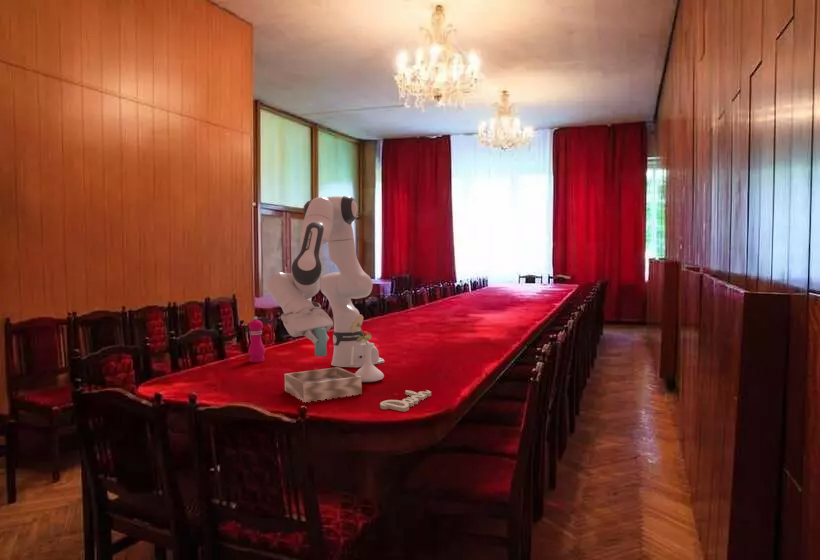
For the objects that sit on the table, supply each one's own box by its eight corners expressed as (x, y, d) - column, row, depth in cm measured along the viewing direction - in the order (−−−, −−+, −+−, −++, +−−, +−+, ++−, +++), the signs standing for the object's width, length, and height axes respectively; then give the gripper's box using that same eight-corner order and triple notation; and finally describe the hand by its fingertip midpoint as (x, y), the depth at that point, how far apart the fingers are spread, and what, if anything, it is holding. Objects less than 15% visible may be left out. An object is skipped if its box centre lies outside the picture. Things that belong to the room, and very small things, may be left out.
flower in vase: (370, 376, 233) (368, 311, 232) (390, 380, 225) (388, 312, 224) (343, 382, 224) (341, 314, 223) (363, 386, 216) (361, 316, 215)
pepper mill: (261, 362, 268) (259, 317, 267) (245, 362, 269) (244, 317, 268) (268, 359, 275) (266, 315, 274) (253, 359, 277) (251, 315, 276)
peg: (324, 353, 211) (323, 327, 210) (328, 355, 207) (328, 328, 207) (313, 354, 209) (312, 328, 208) (317, 356, 205) (316, 329, 205)
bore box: (338, 383, 223) (337, 367, 222) (361, 394, 205) (361, 376, 205) (285, 391, 213) (284, 373, 212) (304, 402, 195) (304, 384, 195)
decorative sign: (405, 407, 182) (375, 404, 186) (405, 413, 182) (375, 410, 186) (436, 390, 202) (408, 388, 207) (436, 395, 203) (409, 393, 207)
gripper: (283, 307, 202) (307, 338, 197) (322, 302, 220) (344, 331, 215) (273, 320, 204) (296, 351, 200) (312, 314, 222) (335, 343, 217)
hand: (322, 341), depth 208 cm, fingers closed on peg, 4 cm apart
